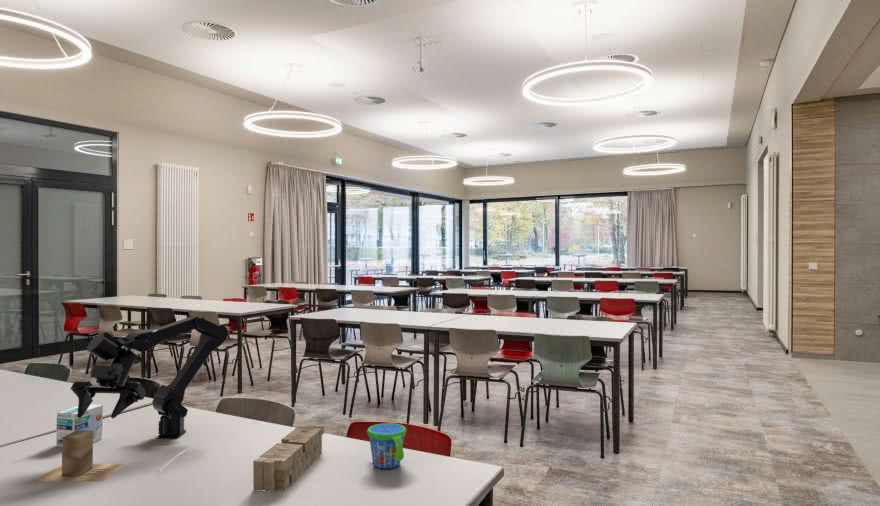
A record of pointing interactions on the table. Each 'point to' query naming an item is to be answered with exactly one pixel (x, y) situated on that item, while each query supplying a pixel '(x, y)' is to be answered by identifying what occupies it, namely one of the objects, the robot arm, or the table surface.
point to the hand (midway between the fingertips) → (95, 417)
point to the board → (95, 474)
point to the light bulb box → (80, 422)
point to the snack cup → (386, 444)
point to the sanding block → (77, 453)
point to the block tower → (288, 458)
